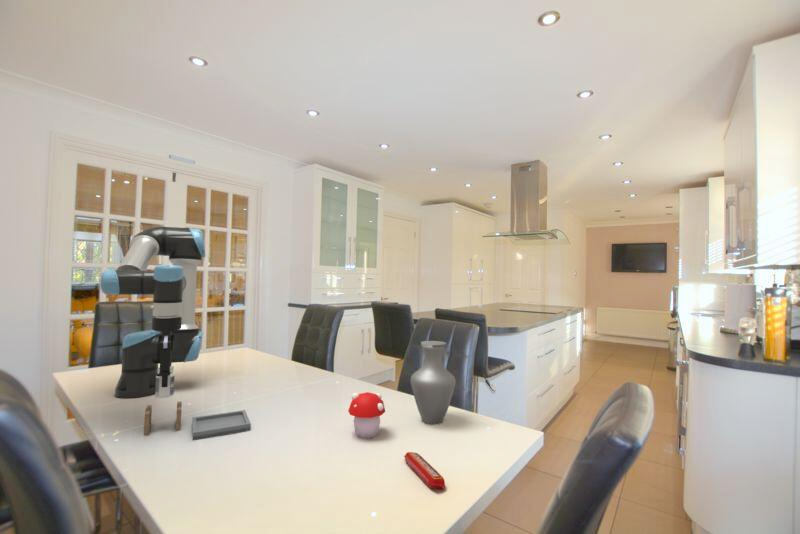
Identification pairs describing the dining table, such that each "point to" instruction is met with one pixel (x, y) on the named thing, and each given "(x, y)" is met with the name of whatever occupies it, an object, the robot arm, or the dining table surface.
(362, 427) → the mushroom
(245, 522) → the dining table surface
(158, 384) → the pill bottle
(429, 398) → the vase
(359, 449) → the dining table surface
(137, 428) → the dining table surface
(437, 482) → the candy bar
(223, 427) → the slate tray
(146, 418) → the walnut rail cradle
